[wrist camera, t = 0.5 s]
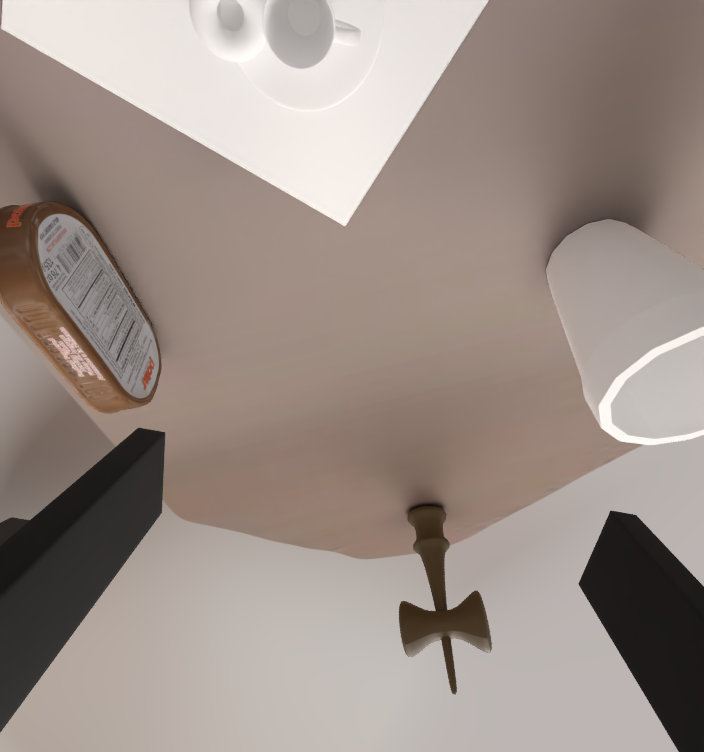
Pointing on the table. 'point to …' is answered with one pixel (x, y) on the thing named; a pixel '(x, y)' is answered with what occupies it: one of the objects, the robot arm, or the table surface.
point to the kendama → (440, 599)
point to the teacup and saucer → (265, 76)
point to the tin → (77, 305)
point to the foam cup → (633, 330)
